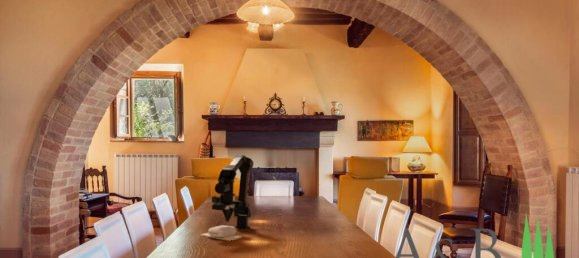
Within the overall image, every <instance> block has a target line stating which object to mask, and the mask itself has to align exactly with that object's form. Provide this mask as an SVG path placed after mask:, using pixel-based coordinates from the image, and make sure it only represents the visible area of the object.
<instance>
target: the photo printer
mask: <svg viewBox="0 0 579 258" xmlns="http://www.w3.org/2000/svg"><path fill="white" fill-rule="evenodd" d="M207 233H208V234H209V235H210V236H213V237H220V238H221V237H227V236H230V235H236V233H237V228H236V227H235V226H232V225H231V226H230V225H222V224H221V225H218V226H217V225H216V226H212V227H210V228H208V230H207Z"/></svg>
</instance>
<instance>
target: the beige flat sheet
mask: <svg viewBox="0 0 579 258" xmlns="http://www.w3.org/2000/svg"><path fill="white" fill-rule="evenodd" d="M200 236H201V237H206V238H212V239H218V240H223V241H229V242H230V241H231V240H232V241H234V240H235V241H236V240H239V239H241V238H242V239H243V236H242V235H236V234H234V235H230V236H227V237H221V238H220V237H213V236H210V235H209V234H208V232H205V233H201V234H200Z"/></svg>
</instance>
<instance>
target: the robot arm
mask: <svg viewBox="0 0 579 258" xmlns="http://www.w3.org/2000/svg"><path fill="white" fill-rule="evenodd" d="M253 167H254V161H253V159H252V158H250V157H248V156H246V155H244V154H237V155H235V158H234V159H233V160H232V162H231V163H230V164H229V165H226V166H224V167H222V168H221V170H220V173H219V175H218V179H217V182H218V183H216V184H215V186H214V191H215V192H216V194H218V195H219V196H218V197H217V196H216V195H215V196H211V203H212V205H211V210H213V211H221V212H222V213H223V216H224V219H225V222H230V220H231V218H232V215H233V216H234V218H235V217H236V225H235V226H234V227H235V228H236V229H247V228H250V227H251V225H249V218H252V211H251V208H250V203H249V201H248V189H249V185H248V184H249V179H250V178H249V176H250V174H251V172H252V171H253ZM237 171H239V173H240V178H239V189H238V198H237V199H235V200H234V197H236V193H234V183H235V179H236V176H237Z"/></svg>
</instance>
